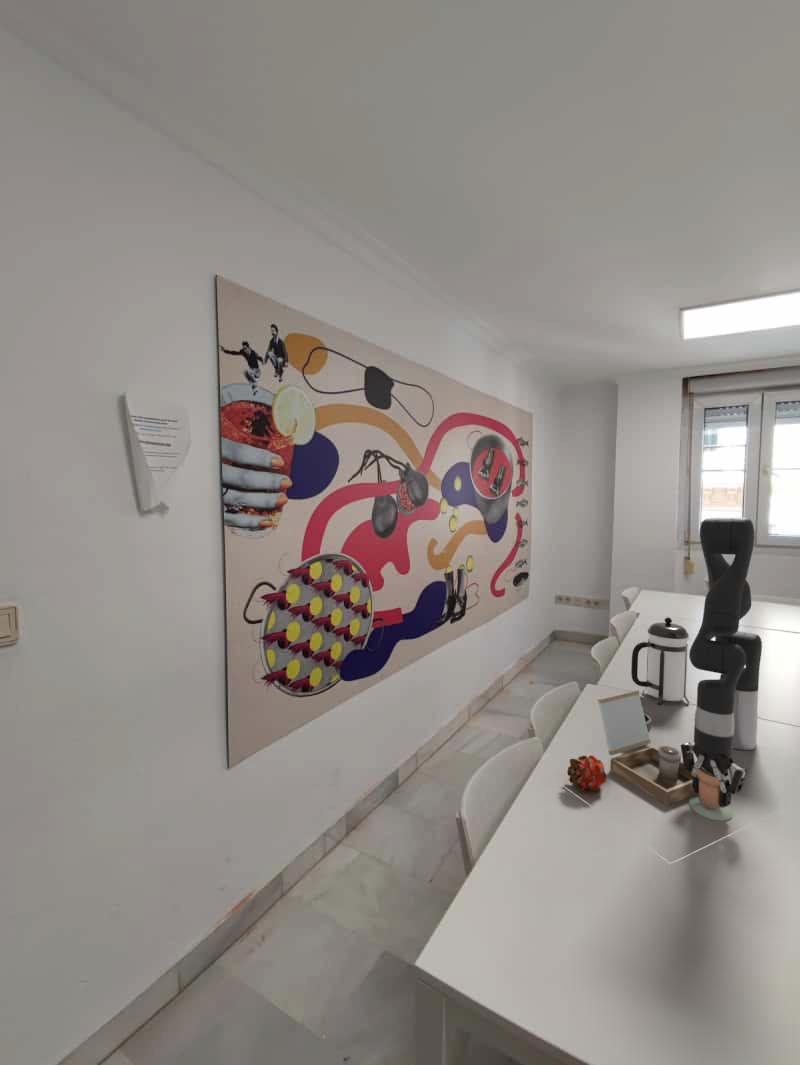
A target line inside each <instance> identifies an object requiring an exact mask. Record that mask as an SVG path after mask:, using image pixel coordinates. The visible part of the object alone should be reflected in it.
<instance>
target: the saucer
mask: <svg viewBox="0 0 800 1065" xmlns="http://www.w3.org/2000/svg"><path fill="white" fill-rule="evenodd" d="M688 804H689V807H690V808H691V810H693V811H694V812H695V813H697V814H699V815H701V816H702V817H704V818H707V819H710V820H712V821H713V820H714V821H719V822H721V821H722V822H723V821H724V822H725V821H729V820H731V819H732V818H733V811H732V809H731V808H730V807H729V805H728V806H726V807H724V808H723V807H722V808H720V809H713V808H710V807H707V806H705V805H703V804H701V803H700V802H699V800H698V795H692V796H690V797H689V798H688Z"/></svg>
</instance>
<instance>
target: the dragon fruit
mask: <svg viewBox="0 0 800 1065" xmlns="http://www.w3.org/2000/svg"><path fill="white" fill-rule="evenodd" d="M569 763H570V766H568V767H567V775H568V777H569V779H568V780H569V782H570V783H571V784H574V785H577V786H576V788H577V789H578V790H580V791H583V790H584V791H588V790H590V791H592V792H596V793H599V791H600V786H601V785H603V784H604V783H605V782H606V781H607V773H606V771H605V765H604V763H603V762H602V761H601V759H597V757H596V756H595V755H589V756H587V755H581V756H578V758H570V759H569Z"/></svg>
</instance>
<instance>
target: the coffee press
mask: <svg viewBox="0 0 800 1065" xmlns="http://www.w3.org/2000/svg"><path fill="white" fill-rule="evenodd" d="M672 622H673V620H672V618H671V617H669V616H668V617H665V618H664V622H656V623H653V624H651V625H650V626H649V628H647V633H648V639H647V641H642V642H639V643H637V644H635V646H634V648H633V650H632V653H631V654H632V655H631V672H630V674H631V679H632V681H633V682H634V683H635V684H636V685H637V686H640V687H643V688H645V689H646V691H647V693H646V694H647V695H648V694H649V695H650V696H652V697H654V698H656V699H657V701H656V702H657V703H656V704H657V705H658V706H661V705H662V706H663V704H664V702H665V701H668V702H678V701H679V702H681V703H682V704H683V705H685V706H688V705H689V704H690V701H689V700H688V699H689V698H687V695H686V694H687V693H686V692H687V691H686V690H687V671H688V670H687V667H688V650H689V647H688V646H689V645H688V641H689V640H690V637H689V636H690V635H689V633H688V632H687V630H686V628H685V627H683V626H682V625H679V624H676V623H672ZM644 648H645V649H646V648H647V658H646V660H647V661H646V663H647V664H646V681H643V680H639V677H638V670H639V669H638V665H639V664H638V663H639V652H640V651H641V650H642V649H644ZM644 693H645V690H642V695H644ZM683 699H685V700H683ZM685 701H686V702H685Z"/></svg>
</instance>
